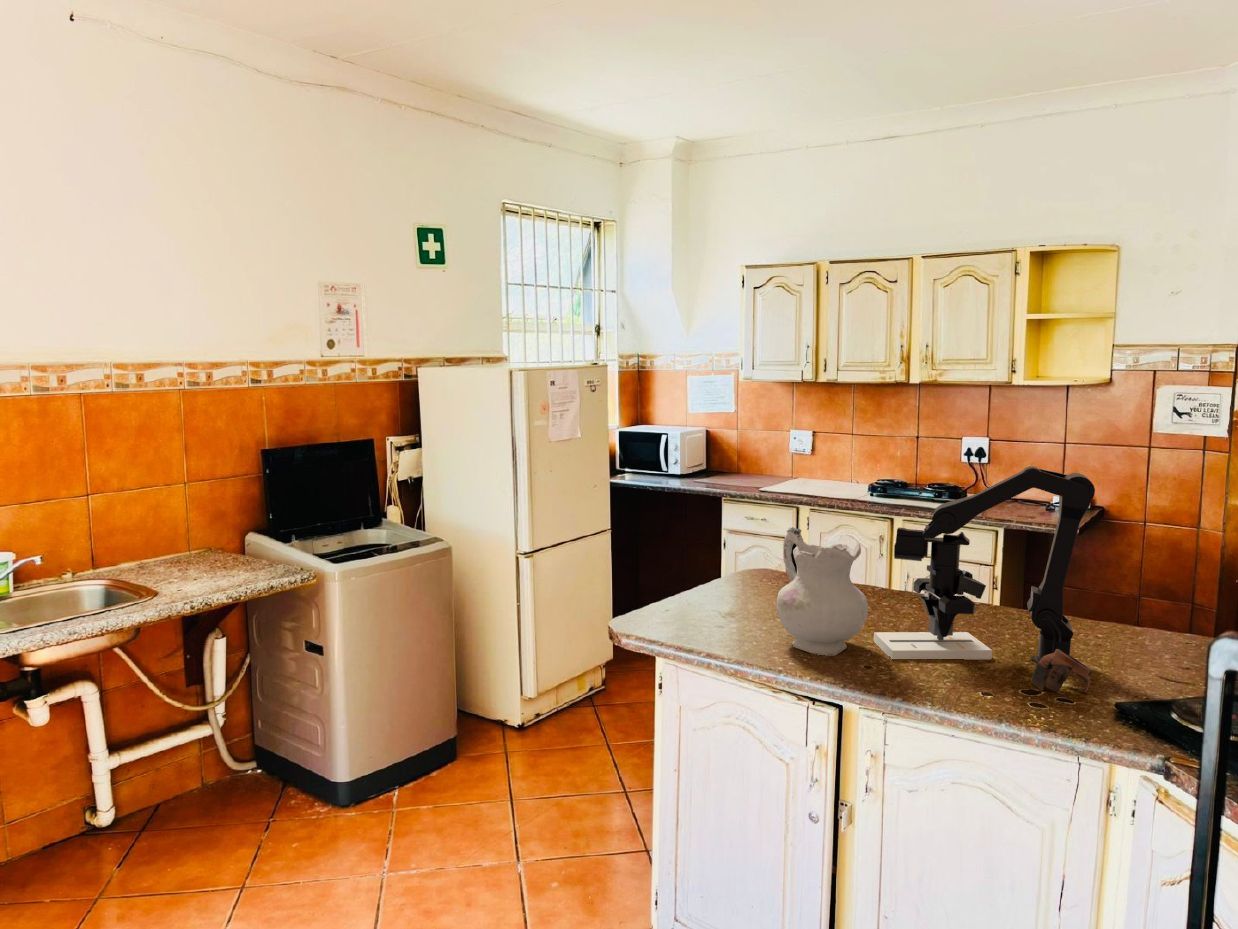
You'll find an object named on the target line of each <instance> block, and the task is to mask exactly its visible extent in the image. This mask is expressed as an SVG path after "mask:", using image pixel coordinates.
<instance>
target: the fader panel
mask: <svg viewBox="0 0 1238 929" xmlns="http://www.w3.org/2000/svg"><path fill="white" fill-rule="evenodd" d="M873 642H874V643H875V644H876V645H877V646H878V647H879V649H880V650H882V652H884V653H885V655H886V656H888V657H889V656H890V657H891V658H890V657H889V658H890V660H892V659H964V660H992V659H993V658H992V657H993V656H992V655H993V649H991V648H990V647H988V646H987V645H986V644H984V643H983V642H982V641H980V640H979V639H977V637H975V636H973V635H972V634H970V632H968V631H967V632H966V631H959V632H958V631H954V632H953V636H947V637H944V639H943V640H938V639H937V636H934V635H933V634H932V633H930V632H929V631H926V632H925V631H922V632H920V631H919V632H917V631H915V632H914V631H913V632H912V631H910V632H909V631H907V632H906V631H903V632H901V631H899V632H897V631H895V632H894V631H893V632H886V631H885V632H881V631H880V632H877V631H876V632H873Z"/></svg>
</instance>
